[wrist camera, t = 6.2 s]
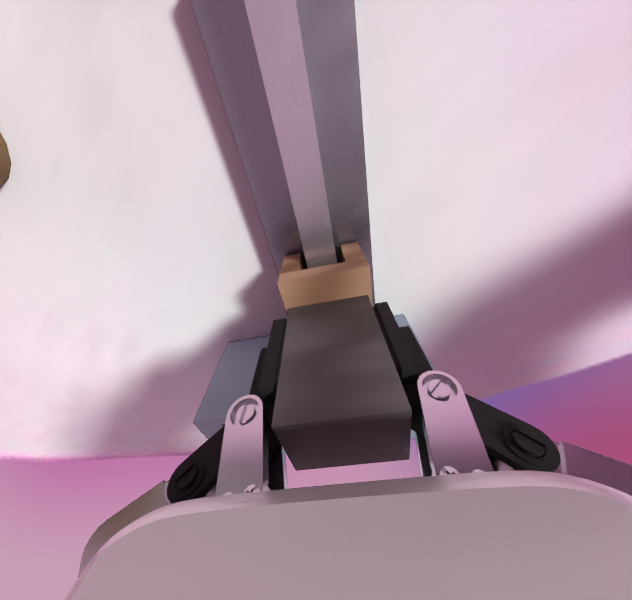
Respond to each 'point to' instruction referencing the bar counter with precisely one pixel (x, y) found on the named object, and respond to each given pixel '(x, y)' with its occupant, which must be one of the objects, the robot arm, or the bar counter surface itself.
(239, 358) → the cabinet
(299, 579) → the robot arm
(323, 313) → the carriage
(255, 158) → the rail
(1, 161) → the cork
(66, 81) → the bar counter surface
